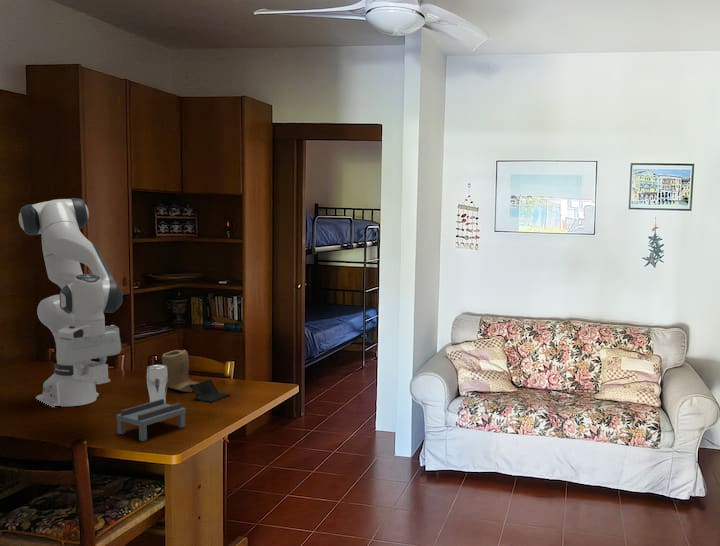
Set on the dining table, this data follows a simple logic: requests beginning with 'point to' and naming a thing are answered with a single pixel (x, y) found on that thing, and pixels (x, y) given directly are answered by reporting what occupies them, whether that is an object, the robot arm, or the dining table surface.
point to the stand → (149, 416)
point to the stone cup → (178, 370)
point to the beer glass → (157, 382)
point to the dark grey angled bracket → (207, 392)
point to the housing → (93, 372)
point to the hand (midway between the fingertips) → (90, 373)
